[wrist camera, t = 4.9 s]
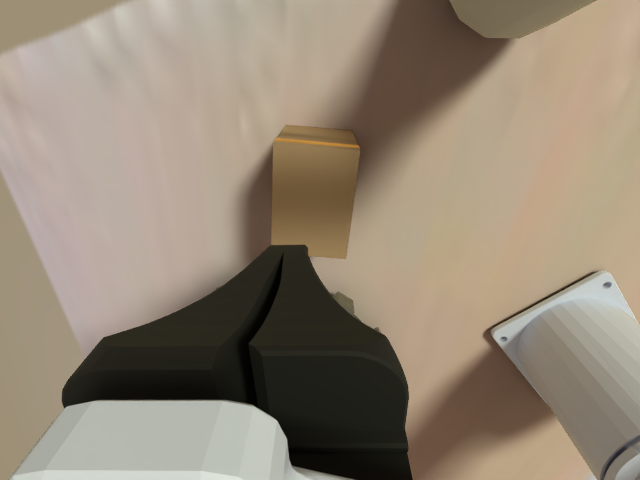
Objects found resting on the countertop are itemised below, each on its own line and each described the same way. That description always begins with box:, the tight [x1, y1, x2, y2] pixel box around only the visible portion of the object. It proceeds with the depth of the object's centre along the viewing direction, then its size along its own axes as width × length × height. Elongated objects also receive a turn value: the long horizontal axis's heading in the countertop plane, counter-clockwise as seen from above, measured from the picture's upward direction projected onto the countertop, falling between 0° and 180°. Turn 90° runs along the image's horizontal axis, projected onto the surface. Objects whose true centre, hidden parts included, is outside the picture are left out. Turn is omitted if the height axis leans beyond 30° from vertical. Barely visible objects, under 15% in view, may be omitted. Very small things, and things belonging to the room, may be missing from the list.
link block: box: [271, 125, 360, 259], centre depth 17 cm, size 5×4×5 cm
